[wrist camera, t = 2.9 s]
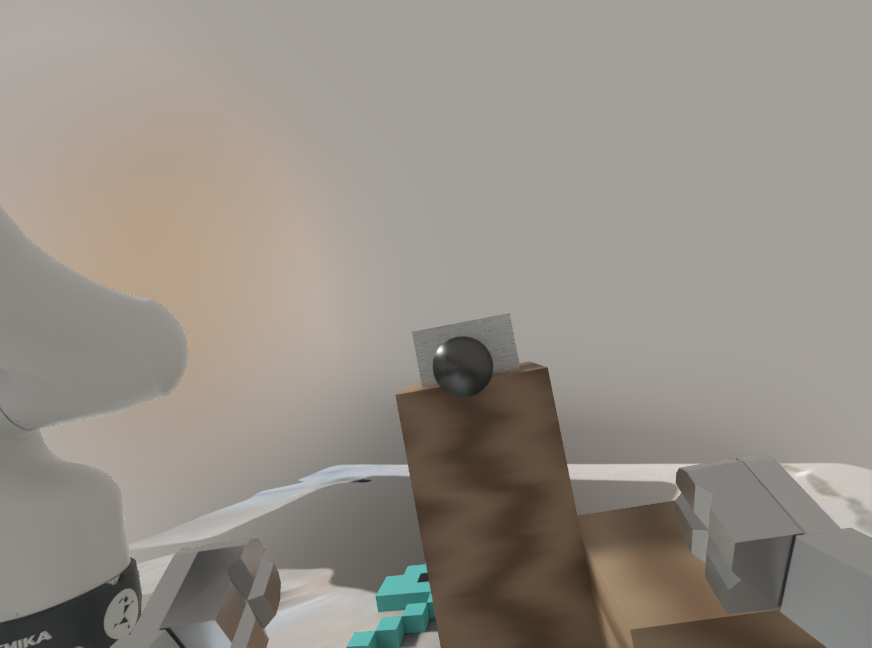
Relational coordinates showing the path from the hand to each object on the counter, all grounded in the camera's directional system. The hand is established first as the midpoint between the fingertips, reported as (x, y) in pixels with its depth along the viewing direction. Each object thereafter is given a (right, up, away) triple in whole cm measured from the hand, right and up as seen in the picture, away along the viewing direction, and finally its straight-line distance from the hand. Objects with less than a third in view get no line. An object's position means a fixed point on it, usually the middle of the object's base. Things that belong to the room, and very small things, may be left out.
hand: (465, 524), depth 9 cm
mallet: (+2, 0, +20) cm, 20 cm away
